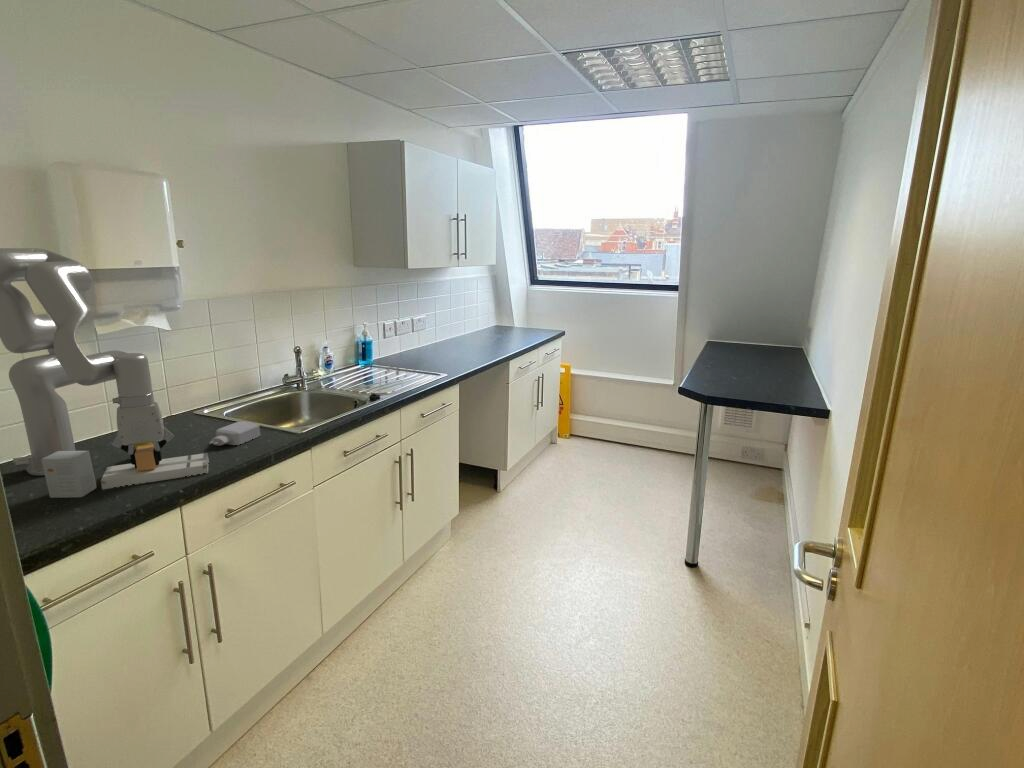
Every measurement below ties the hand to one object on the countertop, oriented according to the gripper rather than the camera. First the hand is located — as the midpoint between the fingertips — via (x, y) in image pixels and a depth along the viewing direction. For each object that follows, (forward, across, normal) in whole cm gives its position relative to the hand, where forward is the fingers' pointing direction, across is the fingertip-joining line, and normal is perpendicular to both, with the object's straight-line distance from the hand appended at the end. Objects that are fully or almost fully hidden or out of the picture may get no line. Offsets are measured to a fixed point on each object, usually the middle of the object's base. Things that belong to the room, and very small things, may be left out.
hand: (147, 464), depth 150 cm
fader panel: (+3, +2, 0) cm, 4 cm away
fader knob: (+2, 0, 0) cm, 2 cm away
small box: (+4, -16, -4) cm, 17 cm away
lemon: (+3, -3, +16) cm, 17 cm away
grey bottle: (+4, +20, +19) cm, 28 cm away
